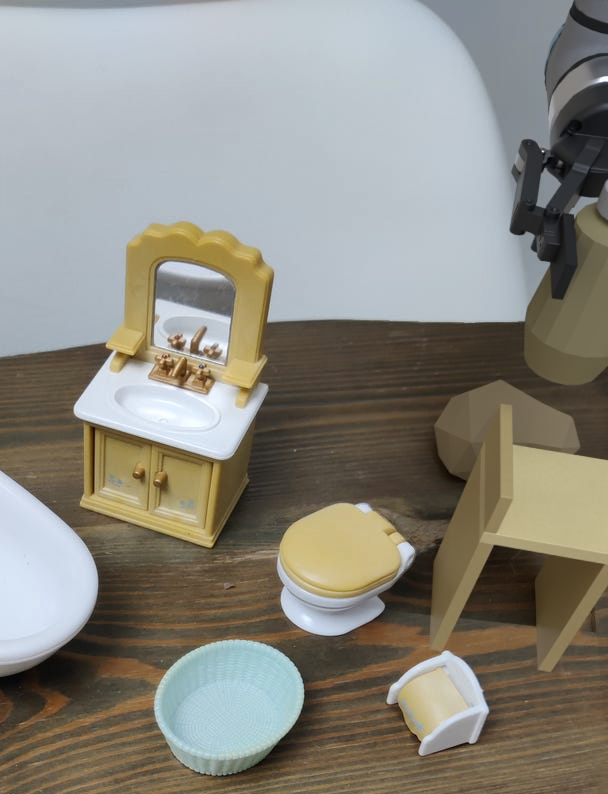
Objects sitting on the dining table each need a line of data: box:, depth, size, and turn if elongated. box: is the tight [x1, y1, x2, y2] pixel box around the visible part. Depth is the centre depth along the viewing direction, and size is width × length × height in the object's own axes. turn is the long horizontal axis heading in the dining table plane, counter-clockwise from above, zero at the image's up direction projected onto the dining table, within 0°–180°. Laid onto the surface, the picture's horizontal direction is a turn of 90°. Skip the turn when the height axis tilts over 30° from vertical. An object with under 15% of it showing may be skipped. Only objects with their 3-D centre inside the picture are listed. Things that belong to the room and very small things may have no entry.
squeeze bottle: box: [523, 180, 608, 386], centre depth 71 cm, size 8×8×18 cm
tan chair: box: [428, 404, 608, 673], centre depth 85 cm, size 11×11×20 cm
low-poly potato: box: [433, 379, 581, 482], centre depth 101 cm, size 15×11×12 cm
